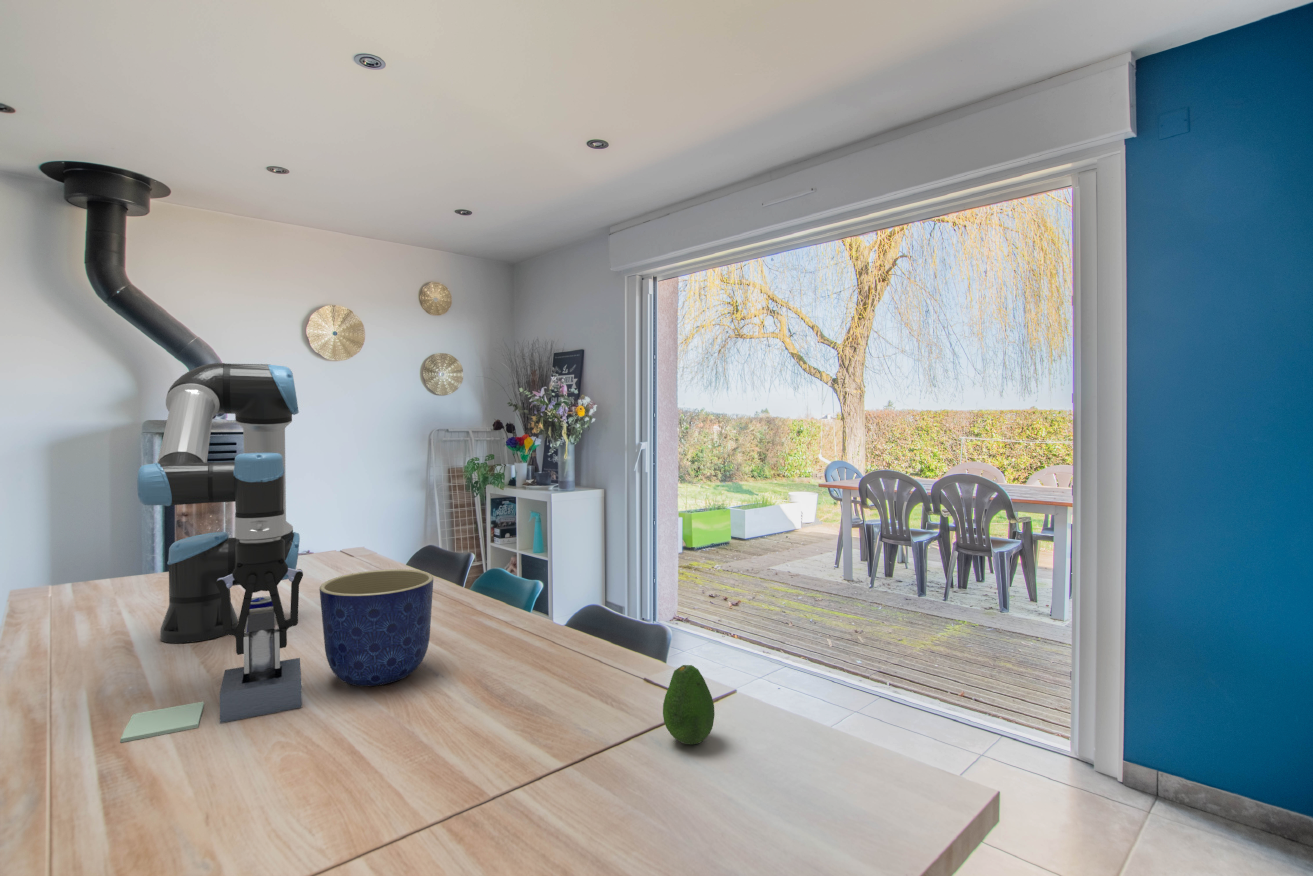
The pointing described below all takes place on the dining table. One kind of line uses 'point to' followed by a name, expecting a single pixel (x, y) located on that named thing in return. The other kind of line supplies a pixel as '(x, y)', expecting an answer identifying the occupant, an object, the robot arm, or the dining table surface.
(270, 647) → the grey piece
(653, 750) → the dining table surface
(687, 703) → the fruit
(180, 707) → the pad
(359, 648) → the planter
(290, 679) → the block
